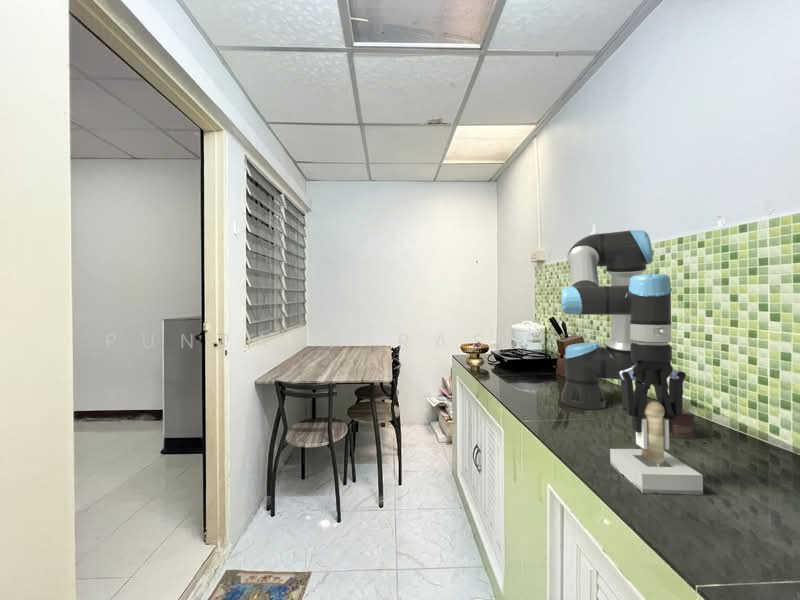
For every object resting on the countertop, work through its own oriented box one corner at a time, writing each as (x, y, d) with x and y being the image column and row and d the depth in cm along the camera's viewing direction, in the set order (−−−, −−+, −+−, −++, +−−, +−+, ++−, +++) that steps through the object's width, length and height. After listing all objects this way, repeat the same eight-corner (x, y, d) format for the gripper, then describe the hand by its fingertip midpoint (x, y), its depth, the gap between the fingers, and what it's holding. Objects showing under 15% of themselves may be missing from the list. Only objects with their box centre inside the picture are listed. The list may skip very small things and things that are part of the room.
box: (695, 439, 96) (694, 414, 96) (671, 438, 97) (670, 413, 97) (682, 431, 102) (681, 407, 102) (659, 430, 103) (659, 406, 103)
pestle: (635, 454, 78) (634, 396, 78) (656, 454, 78) (655, 396, 78) (648, 463, 73) (647, 402, 74) (670, 464, 73) (669, 402, 73)
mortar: (610, 465, 82) (610, 448, 82) (661, 465, 81) (661, 449, 81) (642, 493, 70) (642, 474, 70) (703, 494, 69) (702, 475, 69)
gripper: (621, 345, 73) (622, 453, 72) (704, 344, 71) (706, 454, 71) (602, 341, 80) (604, 439, 80) (677, 340, 79) (679, 440, 79)
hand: (652, 446), depth 76 cm, fingers closed on pestle, 4 cm apart
